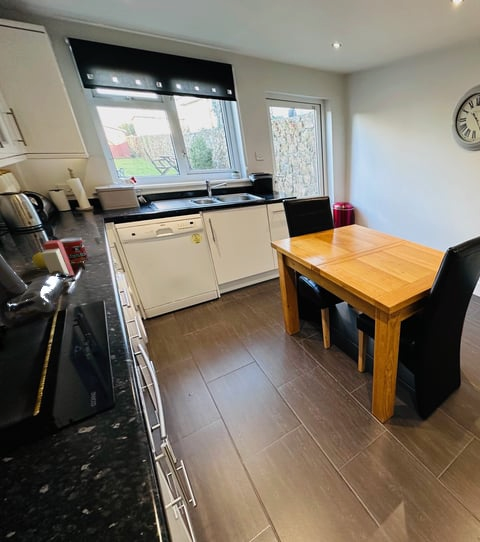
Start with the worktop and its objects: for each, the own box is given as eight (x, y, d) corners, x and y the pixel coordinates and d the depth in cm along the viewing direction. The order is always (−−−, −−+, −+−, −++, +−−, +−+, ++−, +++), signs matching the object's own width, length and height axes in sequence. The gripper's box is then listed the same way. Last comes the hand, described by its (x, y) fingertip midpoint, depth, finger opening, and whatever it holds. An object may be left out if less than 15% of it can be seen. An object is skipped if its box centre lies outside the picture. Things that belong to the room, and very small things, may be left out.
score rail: (43, 301, 101) (38, 290, 99) (62, 273, 123) (58, 264, 122) (73, 295, 105) (69, 285, 104) (86, 269, 128) (83, 261, 126)
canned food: (70, 264, 133) (62, 242, 128) (65, 261, 137) (56, 239, 132) (91, 260, 139) (83, 238, 134) (86, 256, 143) (78, 235, 138)
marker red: (59, 282, 112) (43, 244, 106) (62, 278, 116) (47, 241, 110) (72, 280, 114) (57, 242, 108) (75, 276, 118) (60, 239, 112)
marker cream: (56, 288, 108) (41, 253, 103) (59, 283, 112) (45, 249, 106) (69, 285, 110) (55, 252, 105) (72, 281, 114) (59, 248, 108)
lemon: (49, 270, 125) (42, 254, 122) (33, 271, 124) (25, 254, 121) (57, 266, 130) (50, 250, 127) (42, 267, 129) (35, 250, 126)
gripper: (67, 276, 96) (77, 261, 109) (9, 284, 89) (27, 267, 102) (75, 295, 99) (84, 278, 112) (20, 305, 92) (36, 286, 105)
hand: (57, 273), depth 107 cm, fingers closed
